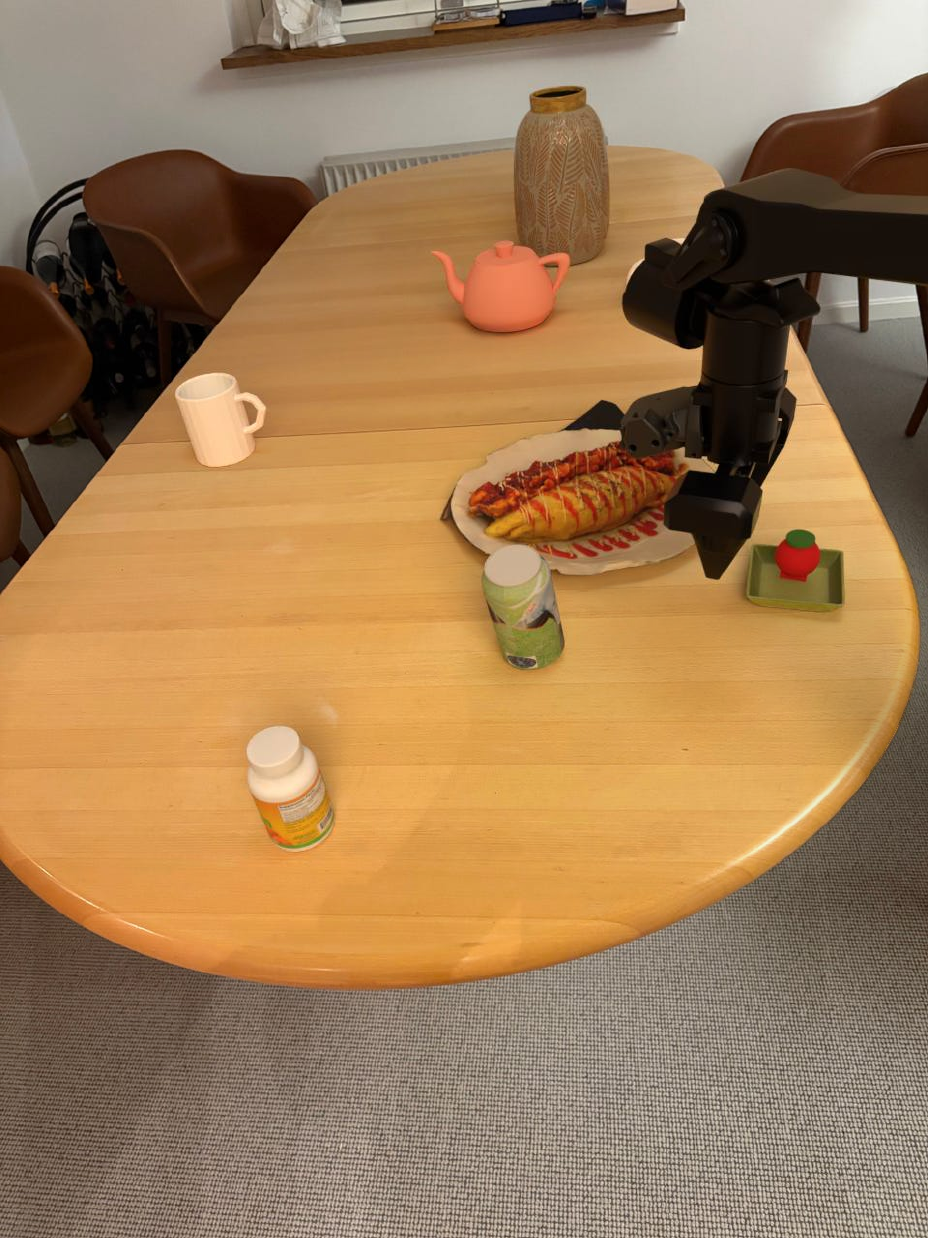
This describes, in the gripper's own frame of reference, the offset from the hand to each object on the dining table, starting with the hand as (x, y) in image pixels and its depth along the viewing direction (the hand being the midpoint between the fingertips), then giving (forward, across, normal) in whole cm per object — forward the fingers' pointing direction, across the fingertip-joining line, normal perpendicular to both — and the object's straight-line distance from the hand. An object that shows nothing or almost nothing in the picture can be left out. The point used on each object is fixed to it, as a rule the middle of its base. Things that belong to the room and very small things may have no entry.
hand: (725, 545), depth 73 cm
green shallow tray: (+12, -11, +5) cm, 17 cm away
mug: (+12, -20, -69) cm, 73 cm away
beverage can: (+12, +6, -16) cm, 21 cm away
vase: (+12, -100, -51) cm, 113 cm away
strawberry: (+10, -11, +5) cm, 16 cm away
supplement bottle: (+12, +30, -26) cm, 42 cm away
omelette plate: (+12, -21, -21) cm, 32 cm away
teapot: (+12, -69, -50) cm, 86 cm away
